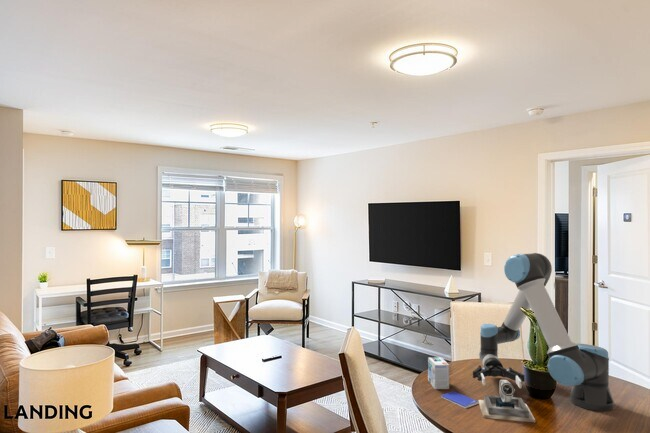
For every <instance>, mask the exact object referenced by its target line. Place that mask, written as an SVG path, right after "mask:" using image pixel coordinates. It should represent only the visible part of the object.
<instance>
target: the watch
mask: <svg viewBox="0 0 650 433" xmlns="http://www.w3.org/2000/svg"><path fill="white" fill-rule="evenodd" d="M498 390H499V396H500V397H501V399H496V407H506V408H514V403H513V401H512V400H511V398H512V397H514V393H515V391H516V389H515V388H514V386H513V385H512V383H511V382H510V381H509V380H508V379H500V380H499V385H498Z"/></svg>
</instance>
